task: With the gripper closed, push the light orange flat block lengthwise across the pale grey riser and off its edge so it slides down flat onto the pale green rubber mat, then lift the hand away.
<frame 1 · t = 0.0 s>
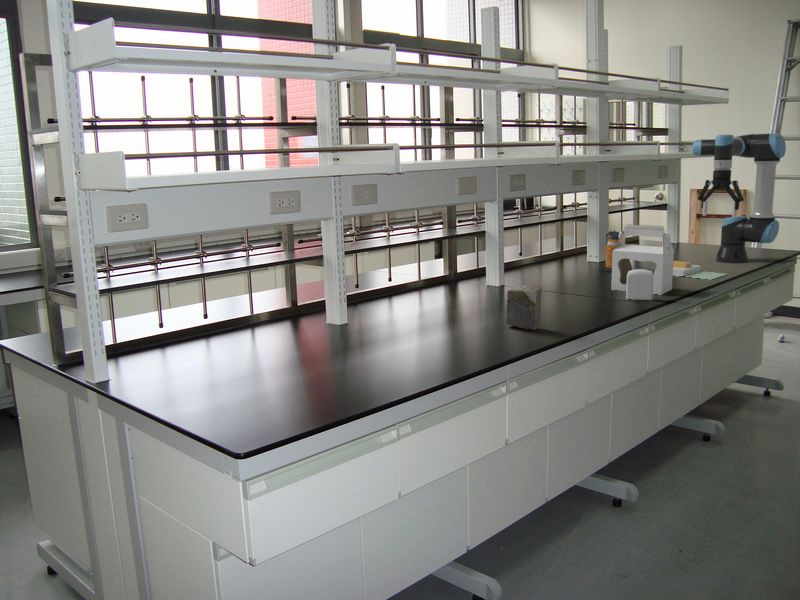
hand: (719, 216, 336), 28 cm above the table, tool pointing down, fingers open, 13 cm apart
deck: (678, 272, 353), on the table
canister: (613, 271, 362), on the table
geological specimen: (523, 328, 256), on the table
mat: (706, 276, 343), on the table
gable box: (641, 290, 315), on the table
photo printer: (639, 300, 296), on the table
light orange flat block: (679, 266, 353), point 3 cm above the table, touching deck
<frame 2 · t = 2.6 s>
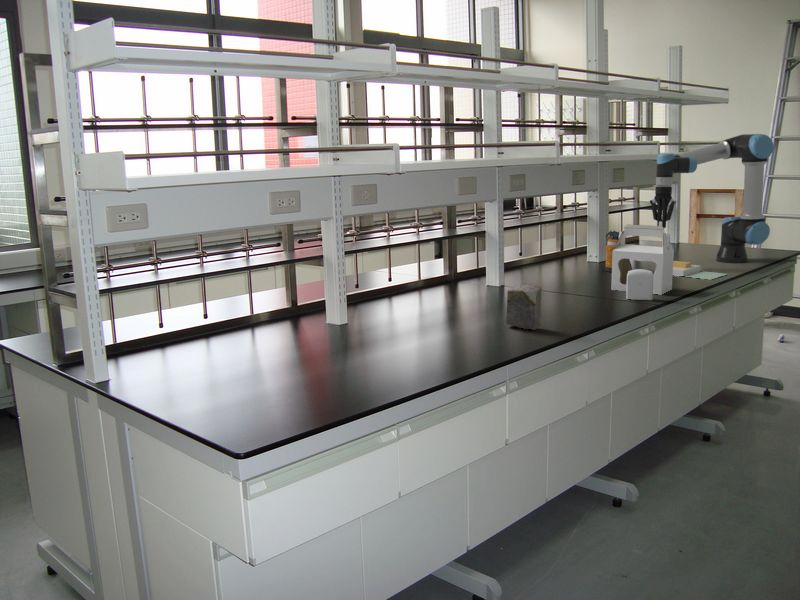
hand: (660, 234, 357), 18 cm above the table, tool pointing down, fingers closed
nothing on the table moved.
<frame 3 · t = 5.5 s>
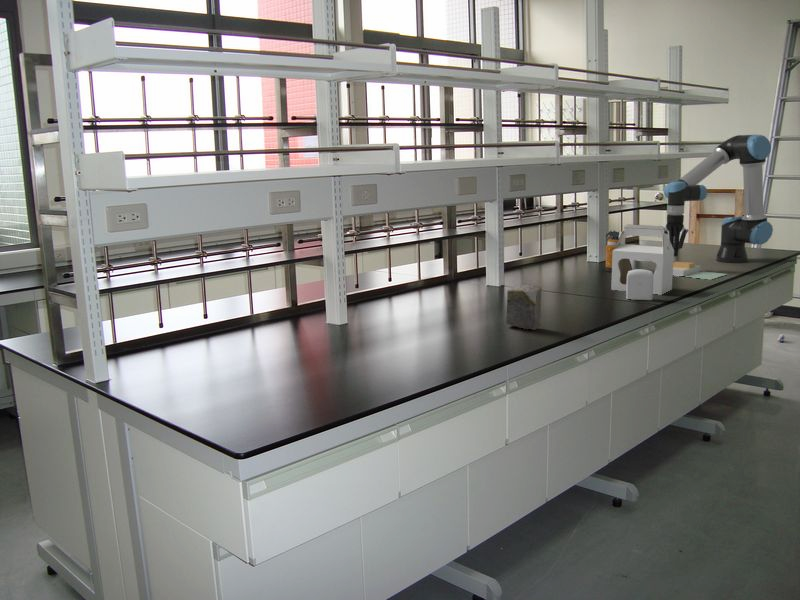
hand: (672, 262, 355), 4 cm above the table, tool pointing down, fingers closed
light orange flat block: (682, 266, 352), point 3 cm above the table
everything else where it was.
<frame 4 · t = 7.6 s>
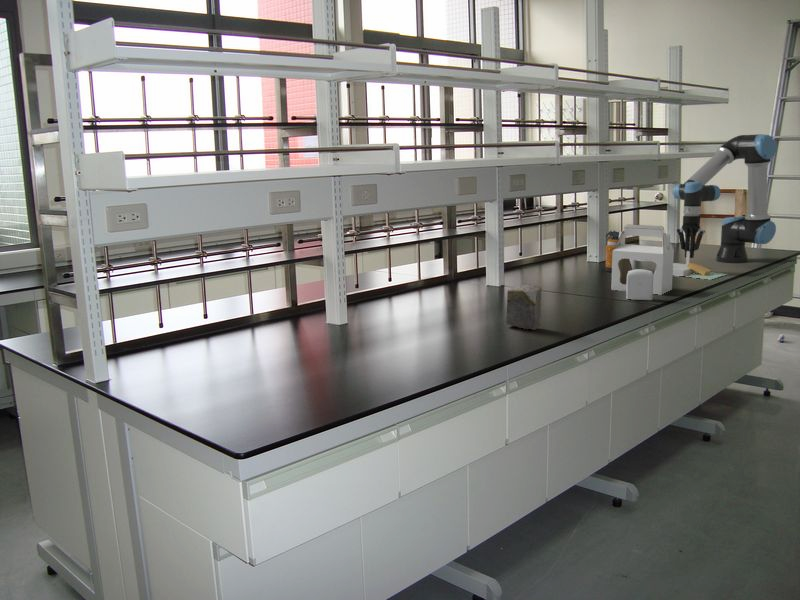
hand: (688, 264, 350), 4 cm above the table, tool pointing down, fingers closed
light orange flat block: (698, 270, 347), point 2 cm above the table, tilted 22°, touching gripper
everything else where it was.
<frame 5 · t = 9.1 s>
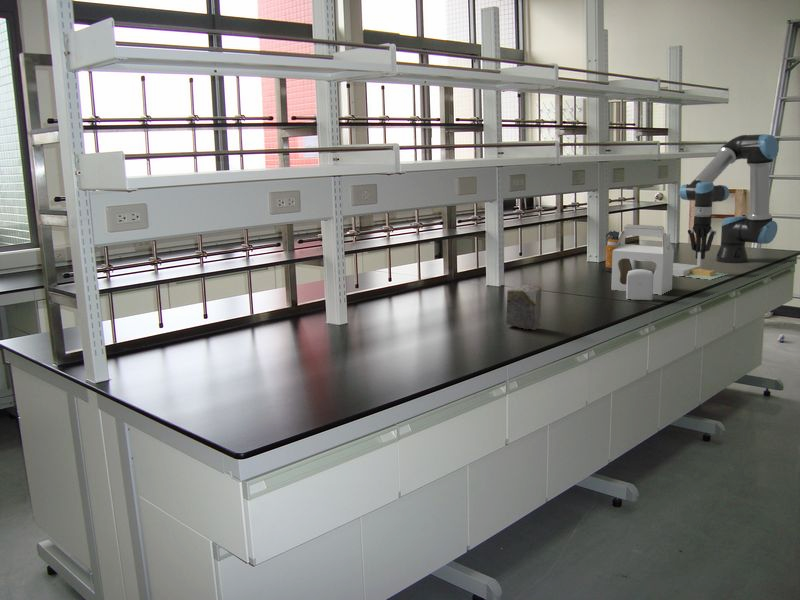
hand: (699, 265, 346), 4 cm above the table, tool pointing down, fingers closed
light orange flat block: (703, 274, 345), resting on mat
everything else where it was.
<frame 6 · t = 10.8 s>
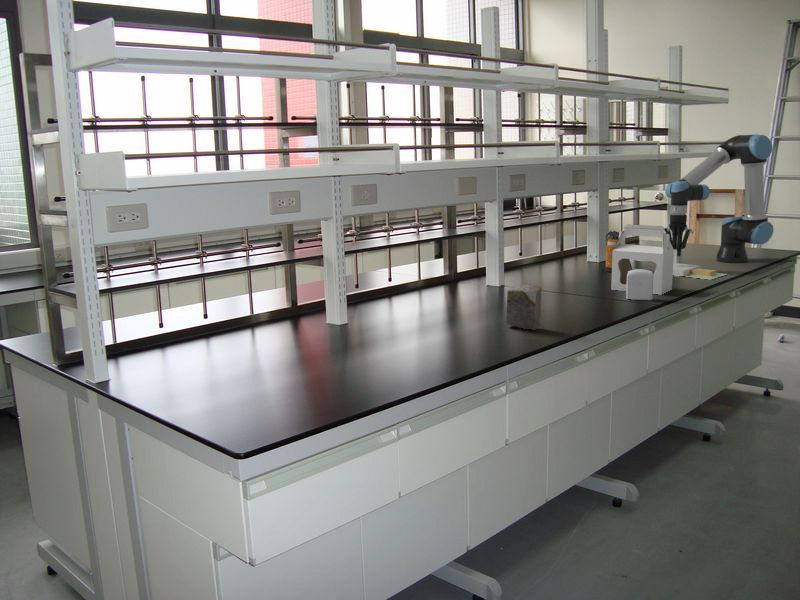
hand: (676, 262, 354), 5 cm above the table, tool pointing down, fingers closed
nothing on the table moved.
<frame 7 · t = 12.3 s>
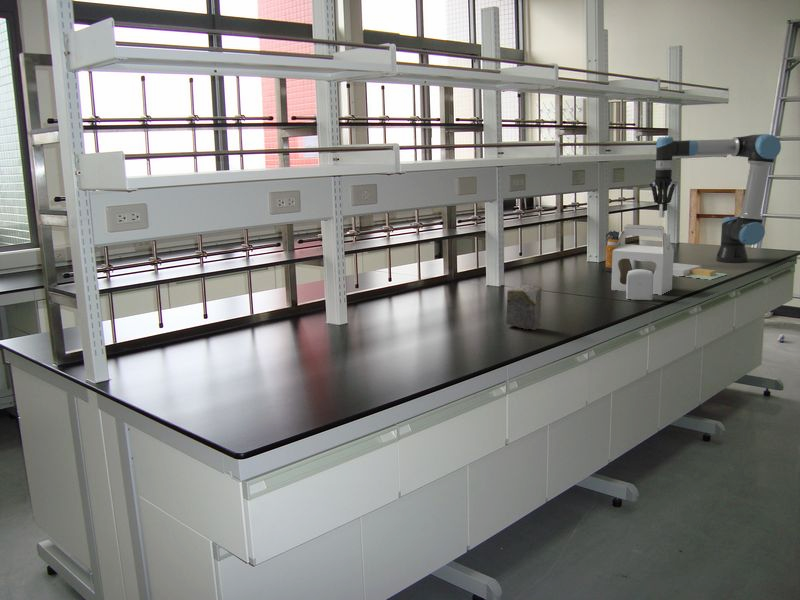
hand: (661, 217, 364), 25 cm above the table, tool pointing down, fingers closed
nothing on the table moved.
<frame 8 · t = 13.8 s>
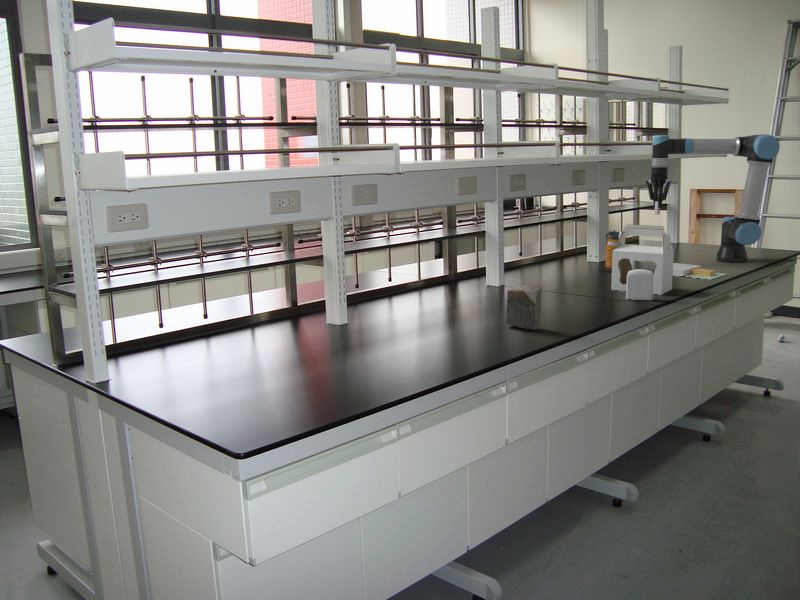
hand: (657, 214, 368), 26 cm above the table, tool pointing down, fingers closed
nothing on the table moved.
at the end: light orange flat block resting on mat; light orange flat block inside the target area on the mat (2.2 cm from its centre), point 0.4 cm above the mat's base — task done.
